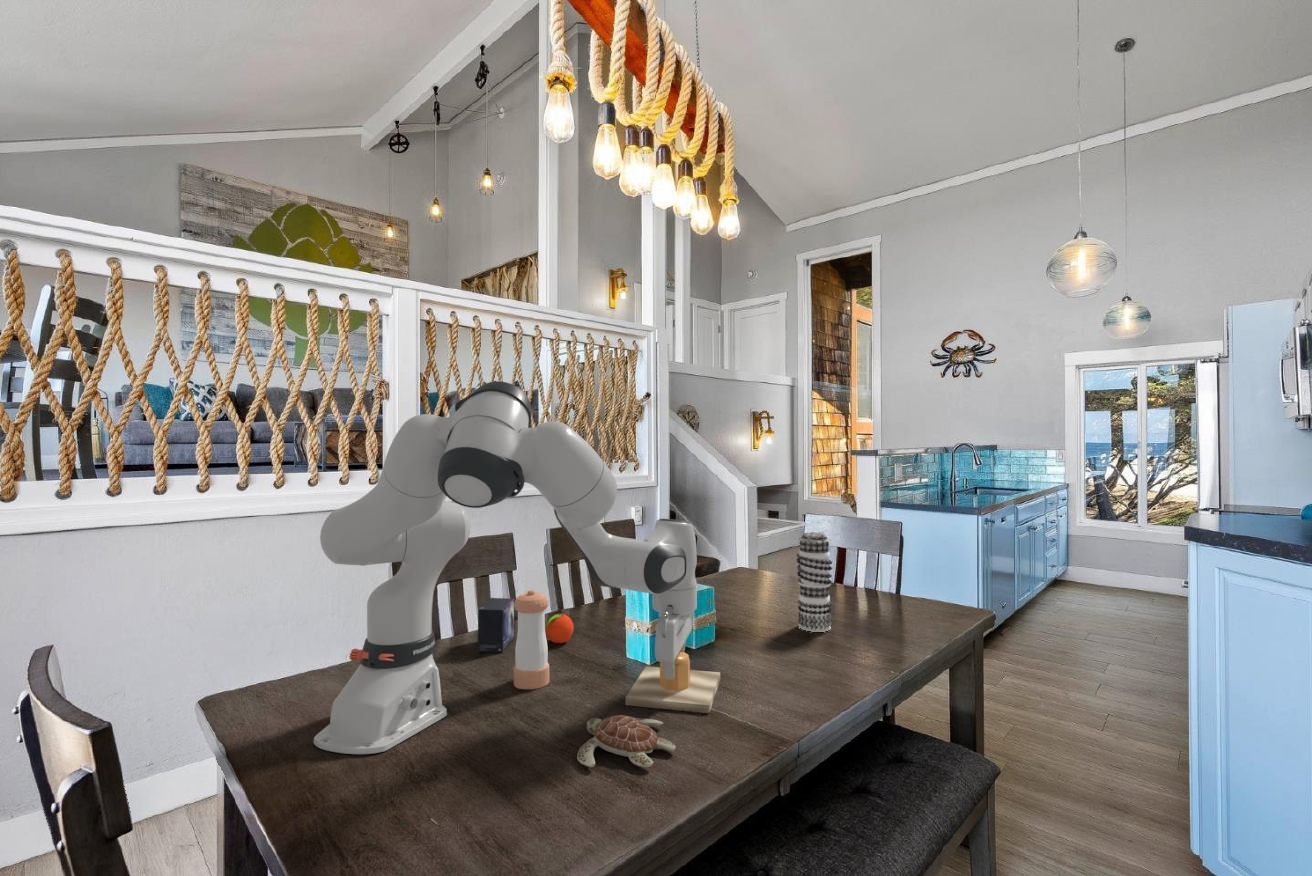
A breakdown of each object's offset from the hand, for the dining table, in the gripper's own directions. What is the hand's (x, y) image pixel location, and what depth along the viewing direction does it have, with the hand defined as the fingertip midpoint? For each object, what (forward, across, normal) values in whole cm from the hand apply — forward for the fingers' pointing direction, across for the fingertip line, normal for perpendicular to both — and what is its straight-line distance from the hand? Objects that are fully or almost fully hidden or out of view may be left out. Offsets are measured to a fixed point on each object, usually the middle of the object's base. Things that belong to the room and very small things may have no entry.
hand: (674, 668), depth 122 cm
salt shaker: (+5, -2, +30) cm, 30 cm away
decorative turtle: (+5, -23, +4) cm, 24 cm away
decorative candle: (+5, +48, -28) cm, 56 cm away
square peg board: (+5, 0, 0) cm, 5 cm away
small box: (+5, +17, +48) cm, 51 cm away
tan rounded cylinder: (+3, 0, 0) cm, 3 cm away
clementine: (+5, +22, +34) cm, 41 cm away
